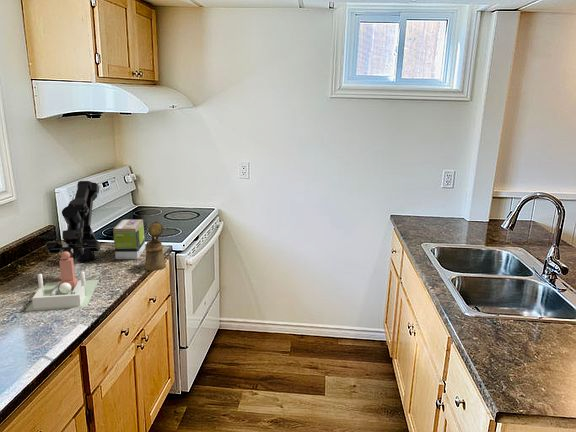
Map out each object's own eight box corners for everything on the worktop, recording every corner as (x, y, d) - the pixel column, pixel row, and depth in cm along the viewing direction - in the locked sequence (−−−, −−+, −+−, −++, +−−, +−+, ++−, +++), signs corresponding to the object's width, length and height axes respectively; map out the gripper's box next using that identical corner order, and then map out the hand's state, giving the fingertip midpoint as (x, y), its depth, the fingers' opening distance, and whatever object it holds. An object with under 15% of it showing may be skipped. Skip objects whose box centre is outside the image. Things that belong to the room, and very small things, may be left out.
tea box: (124, 248, 209) (122, 218, 205) (145, 248, 210) (144, 218, 206) (114, 259, 195) (112, 227, 191) (138, 259, 196) (136, 227, 192)
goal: (41, 297, 156) (38, 273, 153) (86, 294, 159) (84, 271, 157) (32, 309, 147) (29, 284, 145) (81, 305, 150) (79, 281, 148)
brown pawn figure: (168, 259, 197) (167, 221, 192) (164, 270, 184) (162, 229, 179) (148, 259, 196) (146, 221, 191) (142, 271, 183) (140, 230, 178)
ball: (67, 289, 162) (66, 279, 161) (74, 292, 160) (73, 282, 159) (57, 293, 159) (56, 283, 158) (64, 296, 157) (63, 286, 156)
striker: (62, 285, 165) (59, 250, 161) (77, 284, 166) (73, 249, 162) (60, 290, 161) (56, 254, 158) (74, 289, 162) (71, 253, 159)
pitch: (46, 283, 168) (45, 279, 167) (99, 280, 172) (98, 276, 172) (25, 312, 146) (24, 306, 145) (86, 307, 150) (86, 302, 149)
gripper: (43, 221, 166) (38, 258, 159) (96, 220, 171) (93, 256, 163) (51, 235, 176) (46, 271, 168) (101, 233, 180) (98, 268, 172)
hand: (71, 266), depth 168 cm, fingers closed
